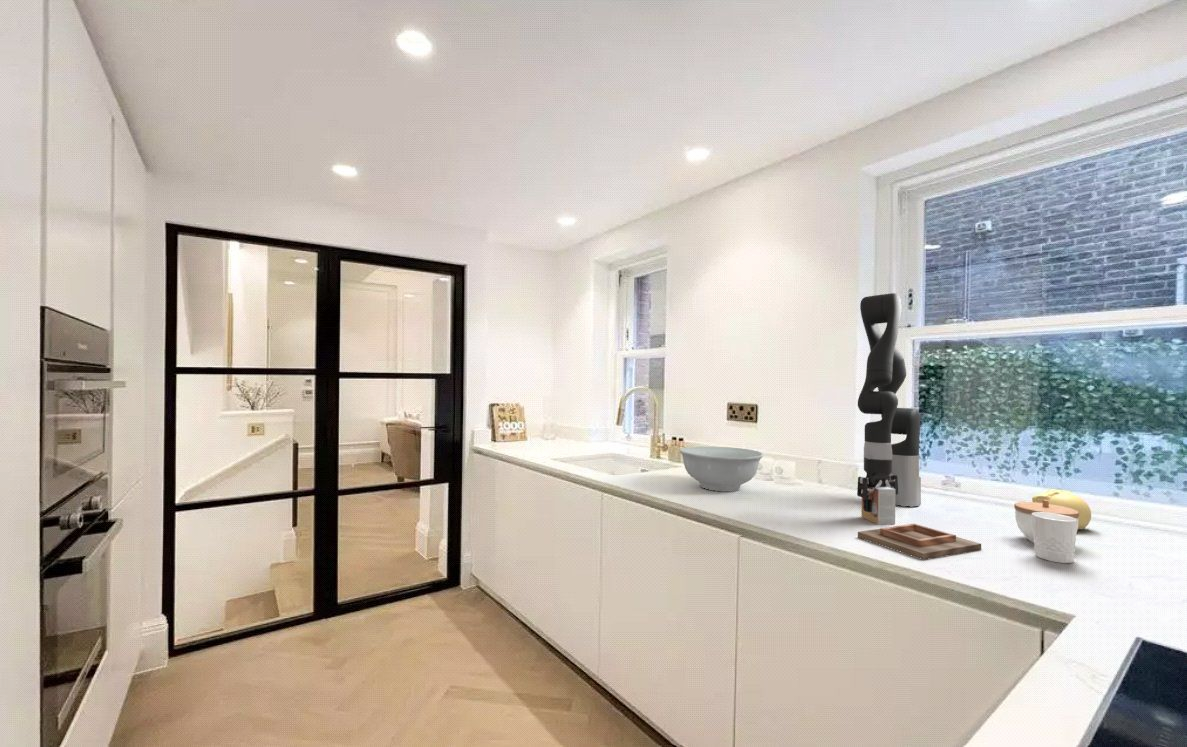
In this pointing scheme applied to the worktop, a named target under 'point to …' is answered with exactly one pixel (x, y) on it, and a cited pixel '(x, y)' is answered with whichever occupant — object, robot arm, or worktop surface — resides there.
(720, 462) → the bowl
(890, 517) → the small box
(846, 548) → the worktop surface
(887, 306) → the robot arm
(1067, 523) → the white cup
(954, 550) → the walnut board
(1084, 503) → the sculpture
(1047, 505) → the lidded bowl
